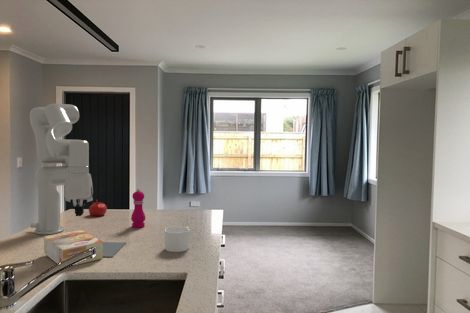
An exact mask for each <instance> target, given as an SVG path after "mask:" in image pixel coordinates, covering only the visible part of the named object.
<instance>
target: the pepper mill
mask: <svg viewBox="0 0 470 313" xmlns="http://www.w3.org/2000/svg"><path fill="white" fill-rule="evenodd" d="M132 199H133V201H132V202H133V205H134V207H133V208H134V209H133V210H132V214H131V218H130V220H131V222H132V223H131V227H132V228H135V229H140V228H144V227H145V220H146V214H145V212H144V209H143V204H144V199H145V193H144V192H143V191H141V189H140V187H138V188H137V189H136V191H134V192H133V193H132Z"/></svg>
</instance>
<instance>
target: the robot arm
mask: <svg viewBox="0 0 470 313" xmlns="http://www.w3.org/2000/svg"><path fill="white" fill-rule="evenodd" d="M79 120H80V111H79V109H78V107H77V106H76V105H74V104H68V103H66V104H65V103H50V104H48V105H46V106H38V107H37V106H36V107H33V108H32V109H31V110H30V112H29V123H30V127H31V128H32V131H33V133H34V137H35V143H36V144H35V146H36V156H37V161H38V162H39V163H40V164H42V165H46V166H42V167H39V168H38V169H37V170H36V172H35V181H36V182H35V183H36V187H37V188H36V189H37V216H38V217H37V218H38V220H37V222H31V223H30V228H35V229H34V234H37V235H44V236H45V235H46V236H47V235H56V234H60V233H63V232H64V227H63V226H61V196H60V192H59V191H58V190H57V189H56V187H58V186H64V195H63V196H64V198H65V201H66V202H68V203H71V204H73V207H74V214H75V217H81V216H83V215H84V210H85V209H84V208H85V207H84V206H85V205H86V203H89V202H93V200H94V198H93V195H94V187H93V179H92V174H91V173H90V163H89V160H90V158H89V156H90V152H89V151H90V146H89V145H90V144H89V142H88V141H87V140H83V139H61V138H62V137H65V136H67V135H68V134H70V133H71V131H72V130H73V124H75V123H77V122H78V121H79ZM54 164H55V165H54ZM56 164H57V165H56ZM58 164H61V165H58ZM47 165H51V166H47ZM52 165H54V166H52Z"/></svg>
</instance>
